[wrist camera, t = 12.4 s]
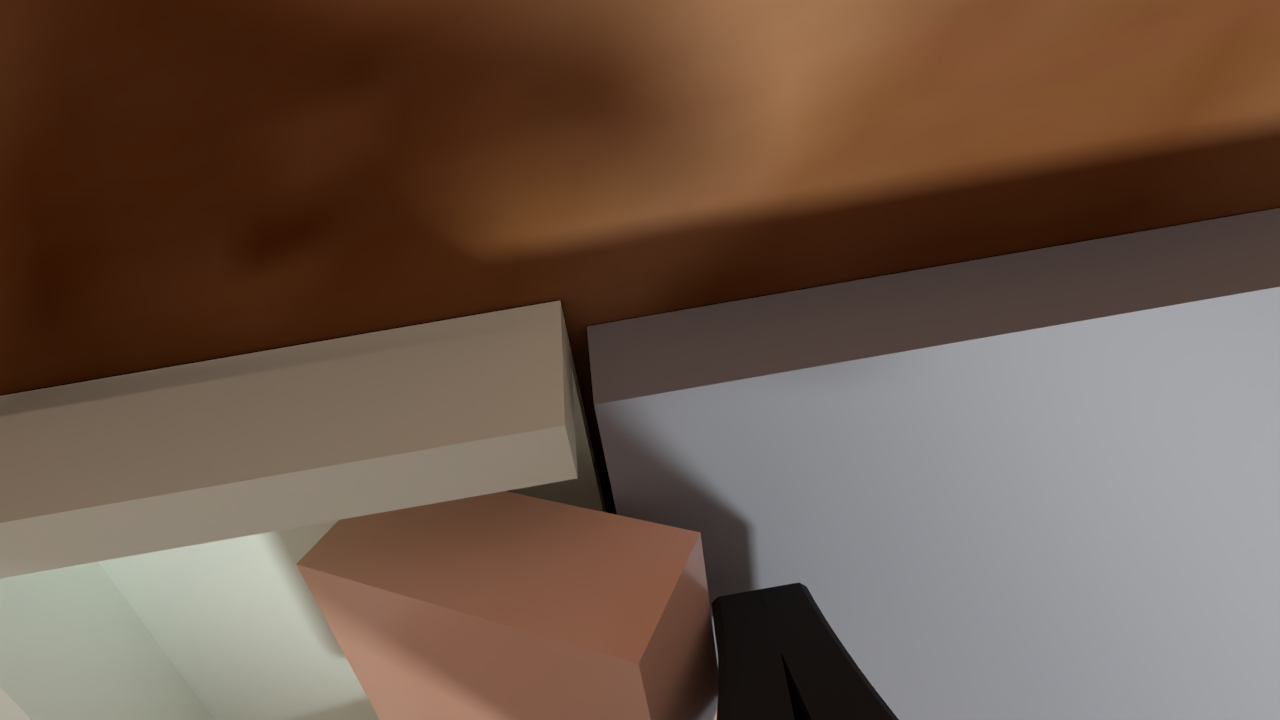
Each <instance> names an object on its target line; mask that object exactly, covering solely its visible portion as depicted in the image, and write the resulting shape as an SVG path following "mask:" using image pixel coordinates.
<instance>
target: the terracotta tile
mask: <svg viewBox="0 0 1280 720" xmlns="http://www.w3.org/2000/svg"><path fill="white" fill-rule="evenodd" d="M296 565H297V567H298V569H299V571H300V572H301V574H302V576H303V578H304V580H305V582H306V584H307V585H308V587H309V589H310V591H311V593H312V595H313V597H314V599H315V600H316V602H317V604H318V606H319V608H320V610H321V612H322V613H323V615H324V617H325V619H326V621H327V623H328V625H329V626H330V628H331V630H332V632H333V634H334V636H335V638H336V640H337V641H338V643H339V645H340V647H341V649H342V651H343V653H344V654H345V656H346V658H347V660H348V662H349V664H350V666H351V668H352V669H353V671H354V673H355V675H356V677H357V679H358V681H359V682H360V684H361V686H362V688H363V690H364V692H365V694H366V696H367V697H368V699H369V701H370V703H371V705H372V707H373V709H374V710H375V712H376V714H377V716H378V718H379V720H717V704H718V664H717V657H716V649H715V641H714V634H713V626H712V618H711V610H710V603H709V595H708V587H707V579H706V572H705V564H704V556H703V548H702V541H701V533H700V532H696V531H691V530H686V529H682V528H677V527H672V526H668V525H663V524H658V523H653V522H649V521H644V520H639V519H634V518H630V517H625V516H620V515H616V514H611V513H606V512H601V511H597V510H592V509H587V508H582V507H578V506H573V505H568V504H564V503H559V502H554V501H549V500H545V499H540V498H535V497H530V496H526V495H521V494H516V493H512V492H507V491H503V492H497V493H491V494H485V495H480V496H474V497H468V498H462V499H456V500H451V501H445V502H439V503H433V504H428V505H422V506H416V507H410V508H405V509H399V510H393V511H387V512H382V513H376V514H370V515H364V516H358V517H353V518H347V519H341V520H338V521H337V522H336V523H335V524H334V525H333V526H332V527H331V529H330V530H329V531H328V532H327V533H326V534H325V535H324V536H323V537H322V538H321V539H320V540H319V541H318V542H317V543H316V544H315V545H314V546H313V547H312V548H311V549H310V550H309V551H308V552H307V553H306V554H305V555H304V557H303V558H302V559H301V560H300V561H299V562H298V563H297V564H296Z"/></svg>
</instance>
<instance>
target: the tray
mask: <svg viewBox="0 0 1280 720" xmlns="http://www.w3.org/2000/svg"><path fill="white" fill-rule="evenodd" d="M503 491H507V492H512V493H516V494H521V495H526V496H530V497H535V498H540V499H545V500H549V501H554V502H559V503H564V504H568V505H573V506H578V507H582V508H587V509H592V510H597V511H601V512H606V507H605V503H604V498H603V493H602V489H601V484H600V480H599V475H598V470H597V466H596V461H595V457H594V452H593V448H592V443H591V438H590V434H589V429H588V425H587V420H586V416H585V411H584V406H583V402H582V397H581V393H580V388H579V384H578V379H577V374H576V370H575V365H574V361H573V356H572V352H571V347H570V342H569V338H568V333H567V329H566V324H565V320H564V315H563V310H562V306H561V301H554V302H548V303H542V304H536V305H531V306H525V307H519V308H513V309H507V310H501V311H495V312H489V313H484V314H478V315H472V316H466V317H460V318H454V319H448V320H443V321H437V322H431V323H425V324H419V325H413V326H407V327H401V328H396V329H390V330H384V331H378V332H372V333H366V334H360V335H355V336H349V337H343V338H337V339H331V340H325V341H319V342H313V343H308V344H302V345H296V346H290V347H284V348H278V349H272V350H267V351H261V352H255V353H249V354H243V355H237V356H231V357H225V358H220V359H214V360H208V361H202V362H196V363H190V364H184V365H179V366H173V367H167V368H161V369H155V370H149V371H143V372H137V373H132V374H126V375H120V376H114V377H108V378H102V379H96V380H91V381H85V382H79V383H73V384H67V385H61V386H55V387H50V388H44V389H38V390H32V391H26V392H20V393H14V394H8V395H3V396H0V720H379V718H378V716H377V714H376V712H375V710H374V709H373V707H372V705H371V703H370V701H369V699H368V697H367V696H366V694H365V692H364V690H363V688H362V686H361V684H360V682H359V681H358V679H357V677H356V675H355V673H354V671H353V669H352V668H351V666H350V664H349V662H348V660H347V658H346V656H345V654H344V653H343V651H342V649H341V647H340V645H339V643H338V641H337V640H336V638H335V636H334V634H333V632H332V630H331V628H330V626H329V625H328V623H327V621H326V619H325V617H324V615H323V613H322V612H321V610H320V608H319V606H318V604H317V602H316V600H315V599H314V597H313V595H312V593H311V591H310V589H309V587H308V585H307V584H306V582H305V580H304V578H303V576H302V574H301V572H300V571H299V569H298V567H297V565H296V564H297V563H298V562H299V561H300V560H301V559H302V558H303V557H304V555H305V554H306V553H307V552H308V551H309V550H310V549H311V548H312V547H313V546H314V545H315V544H316V543H317V542H318V541H319V540H320V539H321V538H322V537H323V536H324V535H325V534H326V533H327V532H328V531H329V530H330V529H331V527H332V526H333V525H334V524H335V523H336V522H337V521H338V520H341V519H347V518H353V517H358V516H364V515H370V514H376V513H382V512H387V511H393V510H399V509H405V508H410V507H416V506H422V505H428V504H433V503H439V502H445V501H451V500H456V499H462V498H468V497H474V496H480V495H485V494H491V493H497V492H503ZM606 513H607V512H606Z"/></svg>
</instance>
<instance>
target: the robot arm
mask: <svg viewBox="0 0 1280 720" xmlns="http://www.w3.org/2000/svg"><path fill="white" fill-rule="evenodd" d="M711 605H712V613H713V621H714V629H715V637H716V644H717V652H718V704H717V720H899V719H898V718H897V717H896V715H895V714H894V713H893V712H892V710H891V709H890V708H889V706H888V705H887V704H886V703H885V701H884V700H883V699H882V697H881V696H880V695H879V694H878V692H877V691H876V690H875V688H874V687H873V686H872V685H871V683H870V682H869V681H868V679H867V678H866V676H865V675H864V674H863V672H862V671H861V670H860V668H859V667H858V666H857V664H856V663H855V661H854V660H853V658H852V657H851V656H850V654H849V653H848V651H847V650H846V648H845V647H844V646H843V644H842V643H841V641H840V640H839V638H838V637H837V635H836V634H835V632H834V631H833V629H832V628H831V626H830V625H829V623H828V622H827V620H826V618H825V617H824V615H823V614H822V612H821V610H820V609H819V607H818V605H817V604H816V602H815V600H814V599H813V597H812V595H811V593H810V592H809V590H808V588H807V587H806V586H805V585H803V584H801V583H800V582H799V583H793V584H787V585H781V586H776V587H770V588H764V589H758V590H753V591H747V592H741V593H735V594H730V595H724V596H718V597H717V598H716V599H715V600H714V601H713V602H712V603H711Z"/></svg>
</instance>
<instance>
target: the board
mask: <svg viewBox="0 0 1280 720" xmlns="http://www.w3.org/2000/svg"><path fill="white" fill-rule="evenodd" d="M587 335H588V346H589V357H590V368H591V378H592V389H593V400H594V408H595V412H596V417H597V422H598V427H599V432H600V436H601V441H602V446H603V451H604V455H605V460H606V465H607V470H608V474H609V479H610V484H611V489H612V494H613V498H614V503H615V508H616V513H617V515H620V516H625V517H630V518H634V519H639V520H644V521H649V522H653V523H658V524H663V525H668V526H672V527H677V528H682V529H686V530H691V531H696V532H700V533H701V541H702V548H703V556H704V564H705V572H706V579H707V587H708V595H709V603H710V610H711V618H712V626H713V634H714V641H715V649H716V657H717V664H718V652H717V644H716V637H715V629H714V621H713V613H712V605H711V603H712V602H713V601H714V600H715V599H716V598H717V597H718V596H724V595H730V594H735V593H741V592H747V591H753V590H758V589H764V588H770V587H776V586H781V585H787V584H793V583H799V582H800V583H801V584H803V585H805V586H806V587H807V588H808V590H809V592H810V593H811V595H812V597H813V599H814V600H815V602H816V604H817V605H818V607H819V609H820V610H821V612H822V614H823V615H824V617H825V618H826V620H827V622H828V623H829V625H830V626H831V628H832V629H833V631H834V632H835V634H836V635H837V637H838V638H839V640H840V641H841V643H842V644H843V646H844V647H845V648H846V650H847V651H848V653H849V654H850V656H851V657H852V658H853V660H854V661H855V663H856V664H857V666H858V667H859V668H860V670H861V671H862V672H863V674H864V675H865V676H866V678H867V679H868V681H869V682H870V683H871V685H872V686H873V687H874V688H875V690H876V691H877V692H878V694H879V695H880V696H881V697H882V699H883V700H884V701H885V703H886V704H887V705H888V706H889V708H890V709H891V710H892V712H893V713H894V714H895V715H896V717H897V718H898V719H899V720H1280V208H1276V209H1270V210H1265V211H1259V212H1253V213H1247V214H1241V215H1235V216H1229V217H1224V218H1218V219H1212V220H1206V221H1200V222H1194V223H1188V224H1183V225H1177V226H1171V227H1165V228H1159V229H1153V230H1148V231H1142V232H1136V233H1130V234H1124V235H1118V236H1112V237H1107V238H1101V239H1095V240H1089V241H1083V242H1077V243H1071V244H1066V245H1060V246H1054V247H1048V248H1042V249H1036V250H1031V251H1025V252H1019V253H1013V254H1007V255H1001V256H995V257H990V258H984V259H978V260H972V261H966V262H960V263H954V264H949V265H943V266H937V267H931V268H925V269H919V270H914V271H908V272H902V273H896V274H890V275H884V276H878V277H873V278H867V279H861V280H855V281H849V282H843V283H838V284H832V285H826V286H820V287H814V288H808V289H802V290H797V291H791V292H785V293H779V294H773V295H767V296H761V297H756V298H750V299H744V300H738V301H732V302H726V303H721V304H715V305H709V306H703V307H697V308H691V309H685V310H680V311H674V312H668V313H662V314H656V315H650V316H644V317H639V318H633V319H627V320H621V321H615V322H609V323H604V324H598V325H592V326H587Z"/></svg>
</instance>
